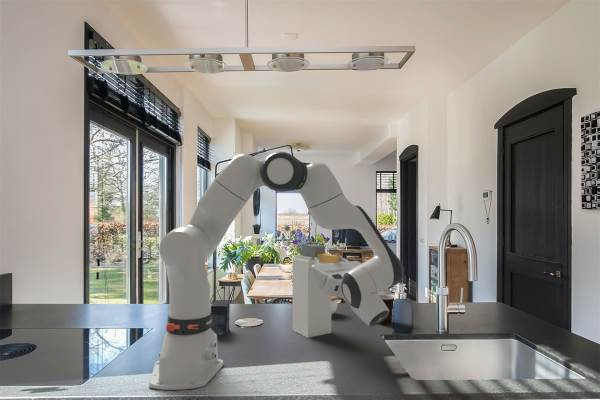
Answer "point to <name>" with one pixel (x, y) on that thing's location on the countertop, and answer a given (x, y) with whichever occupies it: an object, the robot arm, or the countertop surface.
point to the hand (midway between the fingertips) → (326, 258)
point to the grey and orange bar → (318, 253)
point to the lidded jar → (333, 304)
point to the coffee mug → (389, 303)
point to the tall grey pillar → (309, 301)
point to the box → (220, 317)
